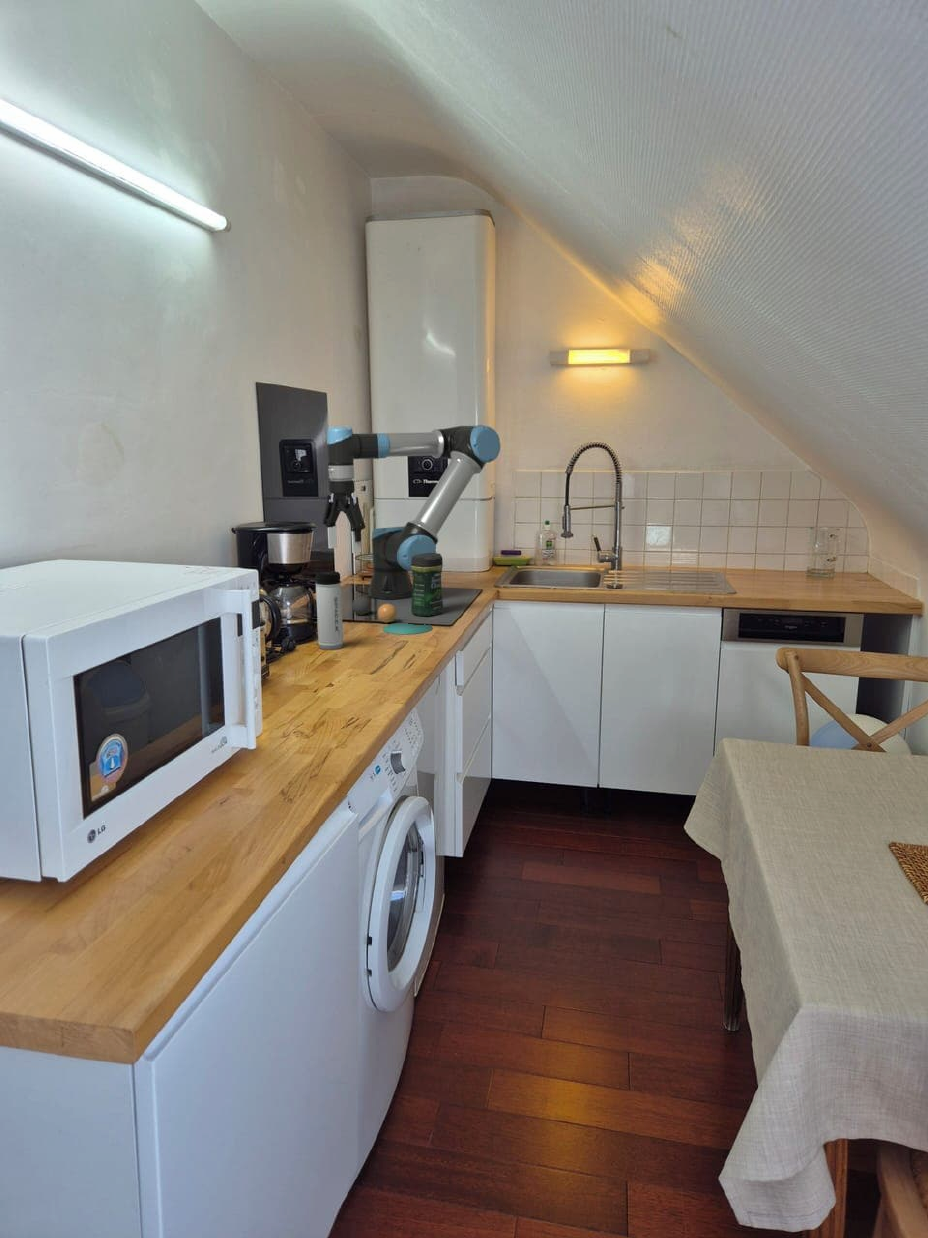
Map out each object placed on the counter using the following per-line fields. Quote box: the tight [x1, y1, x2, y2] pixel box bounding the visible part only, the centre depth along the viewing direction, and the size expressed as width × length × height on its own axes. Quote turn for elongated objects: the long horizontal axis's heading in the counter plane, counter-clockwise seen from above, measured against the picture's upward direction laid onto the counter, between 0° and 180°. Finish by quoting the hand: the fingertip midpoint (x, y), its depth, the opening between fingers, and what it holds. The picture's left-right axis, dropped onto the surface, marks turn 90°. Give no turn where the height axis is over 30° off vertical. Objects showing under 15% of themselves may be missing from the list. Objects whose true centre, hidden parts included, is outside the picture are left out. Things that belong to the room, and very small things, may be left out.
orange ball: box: [377, 603, 398, 624], centre depth 238 cm, size 6×6×6 cm
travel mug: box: [313, 569, 344, 651], centre depth 209 cm, size 6×7×20 cm
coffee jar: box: [410, 552, 444, 617], centre depth 247 cm, size 10×8×19 cm
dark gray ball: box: [351, 596, 371, 616], centre depth 248 cm, size 6×6×6 cm
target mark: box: [381, 622, 433, 635], centre depth 231 cm, size 14×14×1 cm
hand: (344, 550), depth 251 cm, fingers open, 13 cm apart
